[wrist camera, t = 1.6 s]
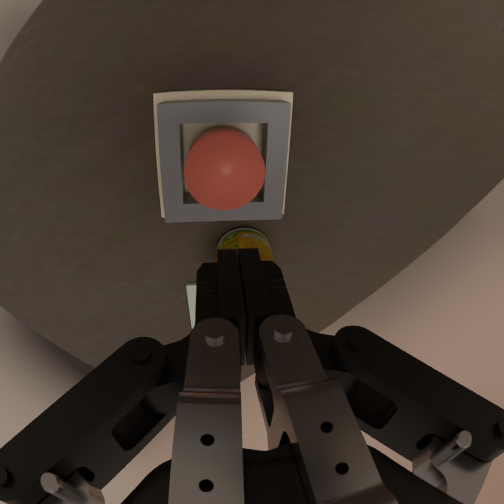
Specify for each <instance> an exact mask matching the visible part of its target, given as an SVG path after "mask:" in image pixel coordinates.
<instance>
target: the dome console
mask: <svg viewBox="0 0 504 504" xmlns="http://www.w3.org/2000/svg"><path fill="white" fill-rule="evenodd" d="M153 101H154V126H155V144H156V159H157V172H158V184H159V195H160V205H161V214H162V217H165V223H173V222H199V221H232V220H282V214H284V205H285V193H286V182H287V170H288V157H289V145H290V131H291V118H292V103H293V92H289V91H272V90H243V89H215V90H186V91H170V92H157V93H154V94H153ZM219 126H229V127H234V128H237V129H239V130H241V131H243V132H245V133H246V134H247V135H249V136H250V137H251V139H252V140H253V141H254V143H255V144H256V146H257V148H258V150H259V151H260V153H261V155H262V158H263V160H264V164H265V179H264V183H263V185H262V187H261V189H260V191H259V192H258V194H257V195H256V196H255V197H254V198H253V199H252V200H251V201H250V202H248V203H247V204H245V205H243V206H241V207H239V208H236V209H231V210H216V209H212V208H209V207H206V206H204V205H202V204H201V203H199V202H198V201H197V200H196V199H195V198H193V196H192V195H191V194H190V192H189V191H188V189H187V187H186V184H185V180H184V166H185V162H186V159H187V155H188V152H189V149H190V147H191V145H192V143H193V142H194V140H195V139H196V138H197V137H198V136H199V135H200V134H202V133H203V132H205V131H207V130H209V129H211V128H214V127H219Z"/></svg>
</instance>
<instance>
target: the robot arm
mask: <svg viewBox="0 0 504 504" xmlns="http://www.w3.org/2000/svg"><path fill="white" fill-rule="evenodd" d="M196 282H197V284H196V308H195V325H194V327H193V329H192V331H191V333H190V334H189V335H188V336H187V337H185V338H184V339H182V340H180V341H177V342H174V343H171V344H167V345H164V346H163V345H162V344H161V343H160V342H159V341H157V340H155V339H153V338H149V337H138V338H134V339H132V340H130V341H128V342H126V343H125V344H124V345H123V346H121V347H120V348H119V349H118V350H116V351H115V352H114V353H113V354H112V355H110V356H109V357H108V358H107V359H106V360H104V361H103V362H102V363H101V364H100V365H98V366H97V367H96V368H95V369H94V370H93V371H91V372H90V373H89V374H88V375H87V376H85V377H84V378H83V379H82V380H81V381H79V382H78V383H77V384H76V385H75V386H73V387H72V388H71V389H70V390H69V391H67V392H66V393H65V394H64V395H63V396H62V397H60V398H59V399H58V400H57V401H56V402H54V403H53V404H52V405H51V406H50V407H49V408H48V409H46V410H45V411H44V412H43V413H41V414H40V415H39V416H38V417H37V418H36V419H34V420H33V421H32V422H31V423H30V424H29V425H27V426H26V427H25V428H24V429H23V430H22V431H20V432H19V433H18V434H17V435H16V436H14V437H13V438H12V439H11V440H10V441H9V442H8V443H6V444H5V445H4V446H3V447H2V448H1V449H0V500H1V501H3V502H5V503H7V504H105V501H104V496H103V494H102V492H101V489H102V488H103V487H104V486H106V485H107V484H108V483H109V482H110V481H111V480H112V479H113V478H114V477H115V476H116V475H117V474H118V473H119V472H120V471H121V470H122V469H123V468H124V467H125V466H126V465H127V464H128V463H129V462H130V461H131V460H132V459H133V458H134V457H135V456H136V455H137V454H138V453H139V452H140V451H141V450H142V449H143V448H144V447H145V446H146V445H147V444H148V443H149V442H150V441H151V440H152V439H153V438H154V437H155V436H156V435H157V434H158V433H159V432H160V431H161V430H162V429H163V428H164V427H165V426H166V425H167V423H168V422H169V421H170V420H171V419H172V418H173V417H174V416H175V415H176V419H175V428H174V439H173V449H172V459H170V460H169V461H166V462H164V463H162V464H161V465H159V466H158V467H156V468H155V469H154V470H152V471H151V472H150V473H149V474H148V475H147V476H146V477H145V478H144V479H143V480H142V481H141V483H140V484H139V485H138V486H137V487H136V488H135V489H134V490H133V491H132V492H131V493H130V494H129V496H128V497H127V498H126V499H125V500H124V501H123V502H122V503H121V504H474V503H475V501H476V499H477V496H478V494H479V492H480V490H481V488H482V485H483V483H484V481H485V478H486V476H487V473H488V471H489V468H490V465H491V463H492V461H493V460H494V459H495V458H496V457H498V456H499V455H500V454H502V453H503V452H504V409H502V408H500V407H499V406H497V405H495V404H493V403H492V402H490V401H488V400H487V399H485V398H483V397H481V396H480V395H478V394H476V393H475V392H473V391H471V390H469V389H467V388H466V387H464V386H463V385H461V384H459V383H457V382H456V381H454V380H452V379H451V378H449V377H447V376H445V375H444V374H442V373H440V372H439V371H437V370H435V369H433V368H432V367H430V366H428V365H427V364H425V363H423V362H422V361H420V360H418V359H416V358H415V357H413V356H411V355H410V354H408V353H406V352H405V351H403V350H401V349H400V348H398V347H396V346H395V345H393V344H391V343H389V342H388V341H386V340H384V339H383V338H381V337H379V336H378V335H376V334H374V333H373V332H371V331H369V330H367V329H365V328H363V327H360V326H346V327H343V328H341V329H340V330H339V331H338V332H337V333H336V335H335V336H333V335H326V334H320V333H315V332H312V331H310V330H308V329H306V327H305V326H304V324H303V323H302V322H301V321H300V320H298V319H297V318H296V316H295V313H294V310H293V307H292V303H291V300H290V297H289V294H288V291H287V288H286V284H285V281H284V279H283V275H282V272H281V269H280V268H279V267H278V266H277V265H276V264H275V263H274V262H273V261H272V260H270V261H261V258H260V254H259V250H258V248H238V256H237V249H236V248H232V249H217V263H203V264H202V265H201V267H200V268H199V269H198V271H197V280H196ZM245 355H246V363H247V365H254V367H255V373H256V376H255V386H256V390H257V394H258V398H259V402H260V406H261V410H262V414H263V418H264V422H265V426H266V430H267V439H268V448H269V450H268V451H259V450H252V449H245V448H242V417H241V392H240V381H241V365H244V364H245ZM361 430H362V431H363V432H365V433H366V434H368V435H370V436H371V437H373V438H374V439H376V440H377V441H379V442H380V443H383V444H384V445H385V446H387V447H388V448H390V449H392V450H393V451H395V452H396V453H398V454H400V455H402V456H403V457H405V458H406V459H408V460H410V461H411V462H413V464H412V467H413V470H412V472H410V471H408V470H407V469H406V468H404V467H402V466H401V465H399V464H398V463H396V462H395V461H393V460H392V459H390V458H389V457H387V456H386V455H384V454H383V453H381V452H380V451H378V450H377V449H375V448H373V447H371V446H369V445H367V444H366V442H365V439H364V437H363V435H362V432H361Z"/></svg>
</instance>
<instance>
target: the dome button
mask: <svg viewBox="0 0 504 504" xmlns="http://www.w3.org/2000/svg"><path fill="white" fill-rule="evenodd" d="M264 179H265V164H264V160H263V158H262V155H261V153H260V151H259V150H258V148H257V146H256V144H255V143H254V141H253V140H252V139H251V137H250V136H249V135H247V134H246V133H245V132H243V131H241V130H239V129H237V128H234V127H229V126H219V127H214V128H211V129H209V130H207V131H205V132H203V133H202V134H200V135H199V136H198V137H197V138H196V139H195V140H194V142H193V143H192V145H191V147H190V149H189V152H188V155H187V159H186V162H185V166H184V180H185V184H186V187H187V189H188V191H189V192H190V194H191V195H192V196H193V198H195V199H196V200H197V201H198V202H199V203H201V204H202V205H204V206H206V207H209V208H212V209H216V210H231V209H236V208H239V207H241V206H243V205H245V204H247V203H248V202H250V201H251V200H252V199H253V198H254V197H255V196H256V195H257V194H258V192H259V191H260V189H261V187H262V185H263V183H264Z"/></svg>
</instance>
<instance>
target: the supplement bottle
mask: <svg viewBox="0 0 504 504" xmlns="http://www.w3.org/2000/svg"><path fill="white" fill-rule="evenodd" d="M232 248H236V249H237V256H238V248H258V250H259V254H260V258H261V261H270V260H272V261H273V262H274V263H275V261H274V258H273V255H272V251H271V248H270V245H269V242H268V240H267V238H266V237H265V236H264V235H263V234H262V233H261V232H259V231H257V230H255V229H251V228H237V229H234V230H232V231H230V232H228V233H226V234H225V235H224V236H223V237H222V238H221V240H220V241H219V243H218V245H217V249H232ZM216 263H217V250H216Z"/></svg>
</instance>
